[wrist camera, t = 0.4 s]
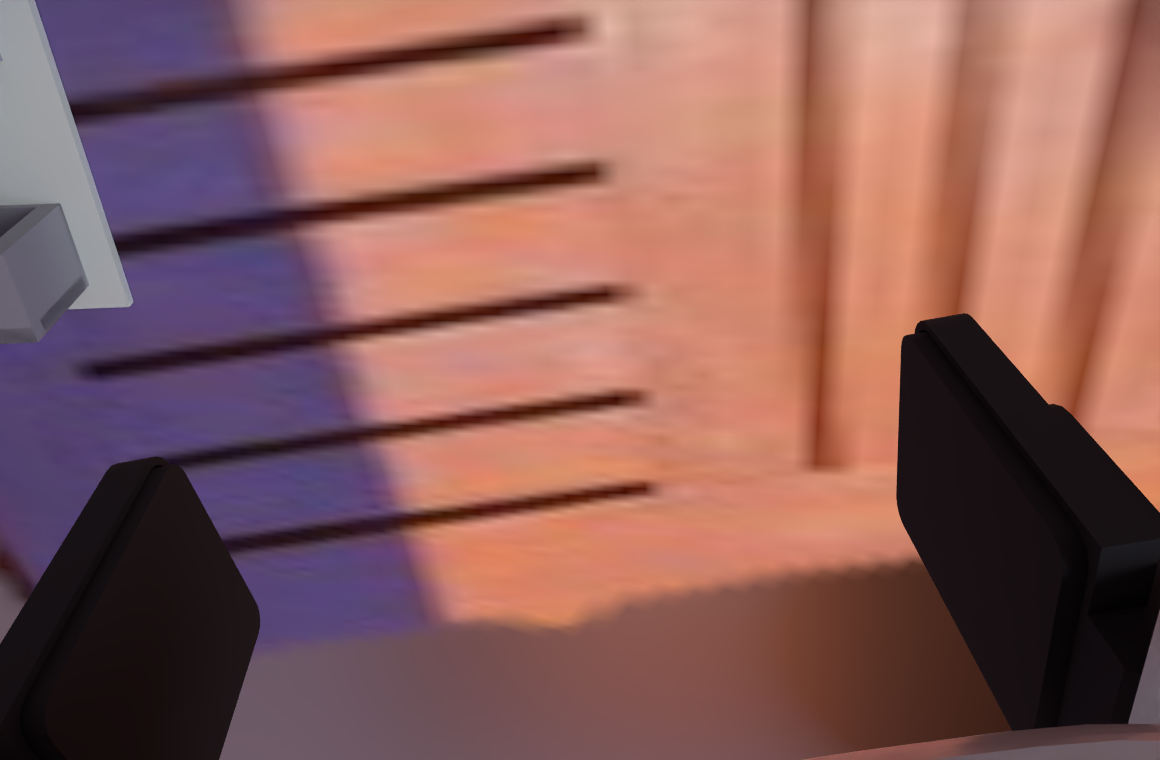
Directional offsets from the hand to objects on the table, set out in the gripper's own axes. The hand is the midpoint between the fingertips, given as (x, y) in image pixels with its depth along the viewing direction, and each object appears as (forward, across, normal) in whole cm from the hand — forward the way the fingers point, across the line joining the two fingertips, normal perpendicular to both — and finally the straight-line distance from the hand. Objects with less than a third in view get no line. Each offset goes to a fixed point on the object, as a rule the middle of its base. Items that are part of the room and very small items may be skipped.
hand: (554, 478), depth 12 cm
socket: (+35, +29, +7) cm, 46 cm away
